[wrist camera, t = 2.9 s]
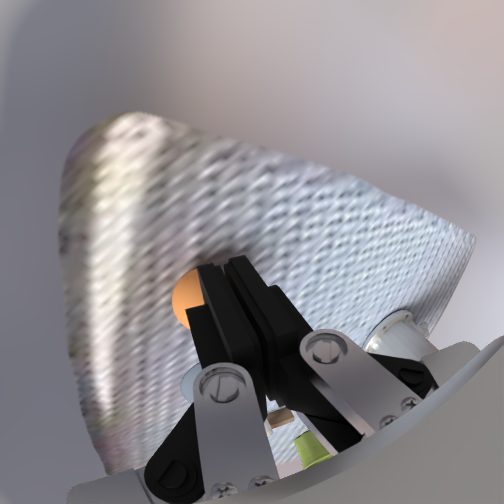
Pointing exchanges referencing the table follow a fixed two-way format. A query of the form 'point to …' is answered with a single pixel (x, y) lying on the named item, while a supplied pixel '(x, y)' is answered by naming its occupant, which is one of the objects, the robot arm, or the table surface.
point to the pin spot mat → (190, 382)
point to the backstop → (280, 417)
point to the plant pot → (311, 450)
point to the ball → (187, 295)
